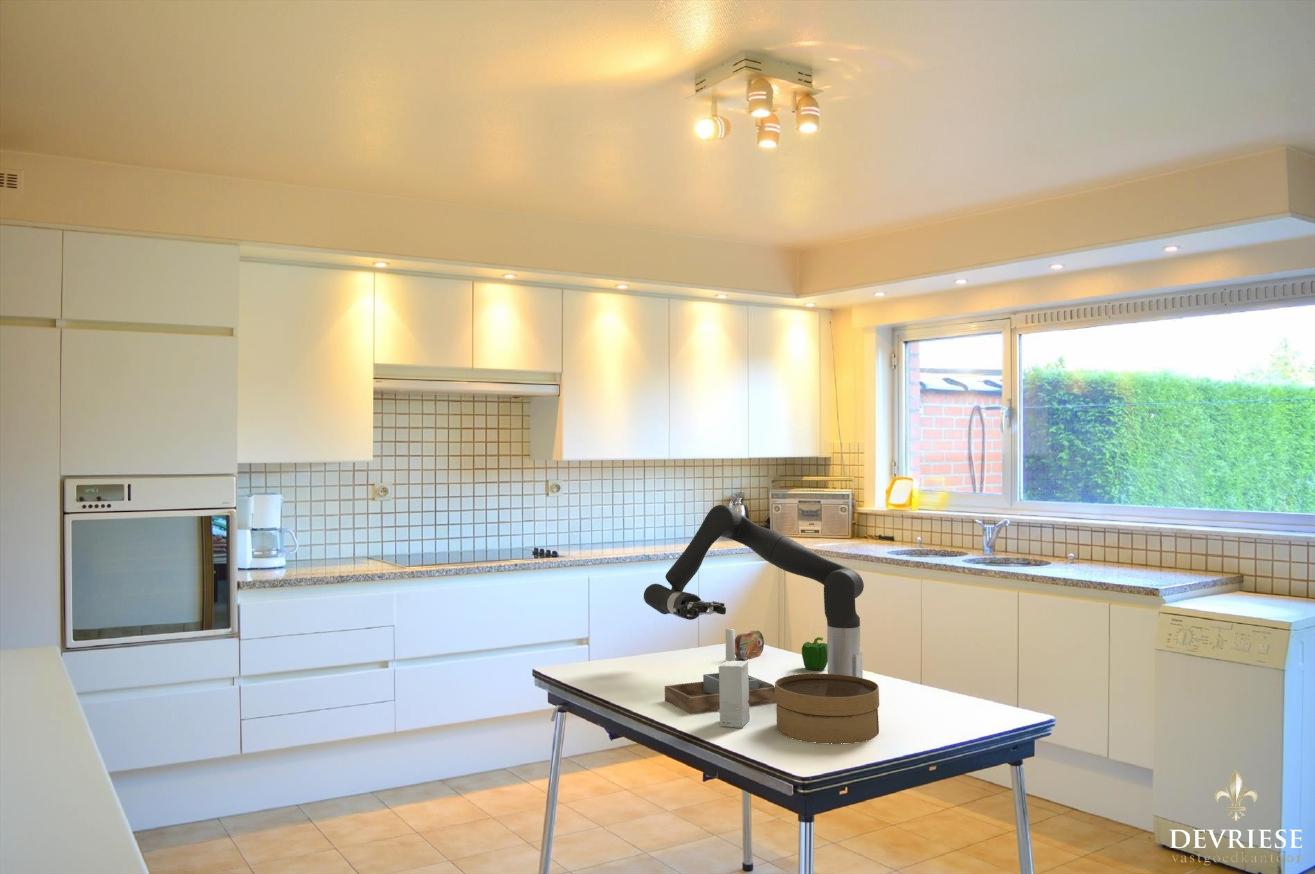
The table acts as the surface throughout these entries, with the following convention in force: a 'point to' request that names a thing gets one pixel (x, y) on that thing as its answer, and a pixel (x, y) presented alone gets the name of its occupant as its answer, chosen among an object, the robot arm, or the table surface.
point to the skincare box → (734, 694)
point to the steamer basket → (827, 708)
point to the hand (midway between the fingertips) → (711, 611)
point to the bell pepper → (815, 655)
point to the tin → (749, 645)
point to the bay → (712, 696)
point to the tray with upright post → (713, 679)
